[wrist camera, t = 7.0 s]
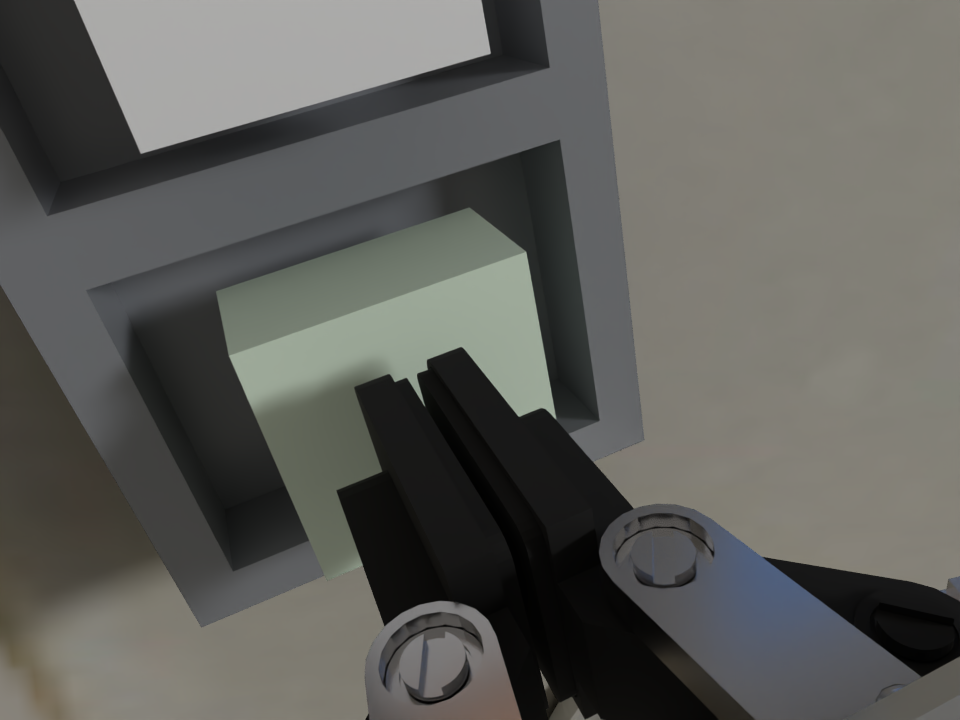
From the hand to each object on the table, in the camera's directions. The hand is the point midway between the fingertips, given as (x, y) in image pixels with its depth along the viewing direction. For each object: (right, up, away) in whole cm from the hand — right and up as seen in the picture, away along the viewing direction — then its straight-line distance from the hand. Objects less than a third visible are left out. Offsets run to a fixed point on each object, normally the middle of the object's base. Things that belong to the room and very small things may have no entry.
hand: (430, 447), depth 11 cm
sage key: (-1, +1, +3) cm, 4 cm away
